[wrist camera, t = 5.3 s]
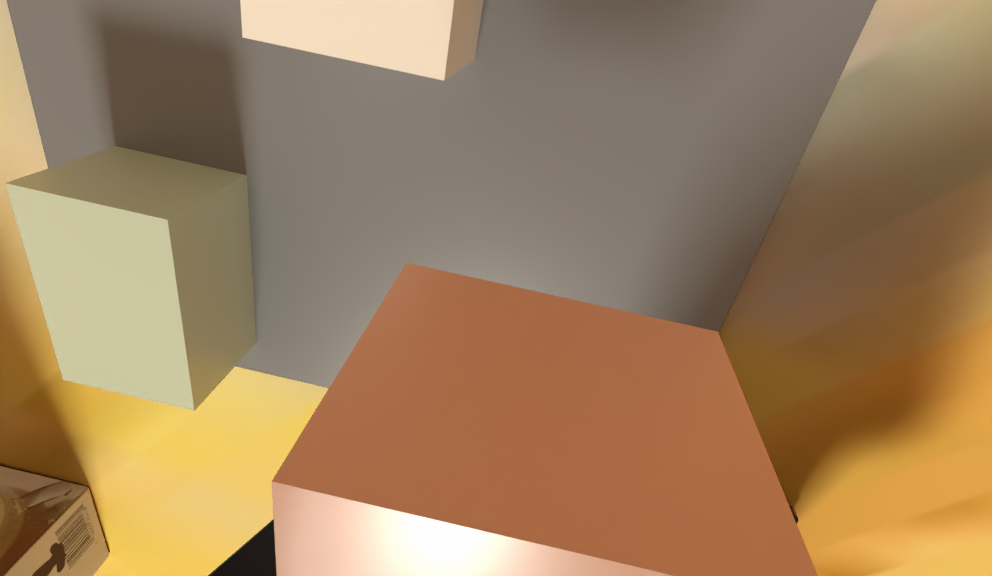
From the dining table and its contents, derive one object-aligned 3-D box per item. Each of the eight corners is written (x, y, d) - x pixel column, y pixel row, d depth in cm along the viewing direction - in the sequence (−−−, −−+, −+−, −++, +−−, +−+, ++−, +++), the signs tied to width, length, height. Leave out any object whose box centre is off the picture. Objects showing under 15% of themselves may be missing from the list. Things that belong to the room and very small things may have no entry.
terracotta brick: (406, 262, 8) (272, 482, 4) (717, 331, 8) (832, 612, 4) (376, 551, 11) (288, 799, 8) (589, 601, 11) (595, 875, 8)
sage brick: (115, 145, 18) (5, 183, 15) (247, 175, 18) (167, 219, 14) (146, 317, 22) (63, 380, 18) (256, 342, 21) (194, 410, 18)
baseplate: (1000, -282, 11) (1220, -423, 7) (655, 456, 22) (671, 554, 18) (-99, -490, 12) (-424, -721, 8) (96, 327, 23) (-1, 395, 19)
